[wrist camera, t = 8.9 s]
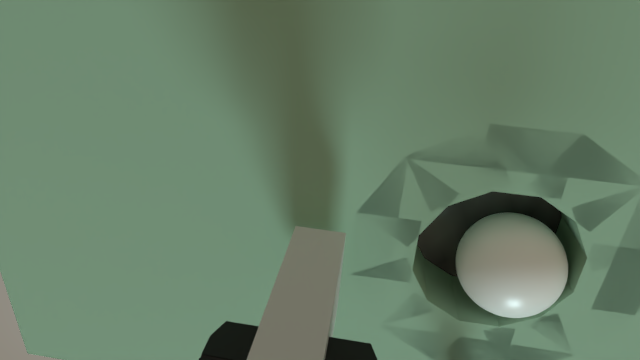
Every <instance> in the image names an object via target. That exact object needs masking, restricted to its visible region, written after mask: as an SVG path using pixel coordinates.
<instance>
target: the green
mask: <svg viewBox="0 0 640 360" xmlns="http://www.w3.org/2000/svg"><path fill="white" fill-rule="evenodd" d="M492 191H494V192H502V193H510V194H519V195H527V196H535V197H541V198H543V199H544V200H546V201H547V202H548V203H550V204H551V205H553V206H554V207H555V208H557V209H558V210H560V212H561V215H562V218H561V221H560V223H559V226H558V229H557V232H556V236H557V237H558V239H559V240H560V242H561V243H562V245H563V247H564V250H565V252H566V255H567V260H568V278H567V282H566V285H565V288H564V290H563V292H562V294H561V295H560V297H559V298H558V299H557V300H556V302H555V303H554V304H552V305H551V306H550V307H549V308H547V309H546V310H544V311H542V312H541V313H538V314H536V315H533V316H529V317H524V318H508V317H502V316H498V315H495V314H493V313H491V312H488V311H486V310H485V309H483V308H481V307H480V306H478V305H477V304H476V303H475V302H474V301H473V300H472V299H471V298H470V297H469V296H468V295H467V294H466V292H465V291H464V289H463V287H462V286H461V283H460V281H459V279H458V277H457V276H451V275H449V274H448V273H446V272H445V271H443V270H442V269H440V268H439V267H437V266H436V265H434V264H433V263H431V262H430V261H428V260H427V259H425V258H424V257H423V255H422V253H421V251H420V249H419V247H418V245H417V242H418V237H419V235H420V234H421V233H422V232H423V231H424V230H425V229H426V228H427V227H428V226H429V225H430V224H431V223H432V222H433V221H434V220H435V219H436V217H437V216H438V215H439V214H440V213H441V212H442V211H443V210H444V209H445V208H446V207H447V206H450V205H453V204H456V203H459V202H462V201H465V200H468V199H471V198H474V197H477V196H480V195H483V194H486V193H489V192H492ZM295 226H300V227H307V228H314V229H321V230H328V231H335V232H342V233H346V238H345V247H344V255H343V264H342V273H341V282H340V291H339V299H338V307H337V313H336V319H335V325H334V331H333V337H334V338H340V339H346V340H352V341H358V342H364V343H370V344H371V345H372V348H373V350H374V352H375V355H376V357H377V360H640V0H0V272H1V274H2V278H3V281H4V284H5V286H6V290H7V292H8V295H9V299H10V302H11V305H12V308H13V311H14V314H15V316H16V320H17V323H18V326H19V329H20V332H21V335H22V338H23V341H24V344H25V347H26V350H27V353H29V354H34V355H40V356H46V357H51V358H57V359H63V360H199V358H201V354H202V352H203V350H204V347H205V345H206V343H207V341H208V339H209V337H210V335H211V334H212V333H214V332H215V331H216V330H217V329H218V328H219V327H220V326H221V325H222V324H223V323H225V322H226V321H229V322H235V323H241V324H248V325H254V326H259V324H260V322H261V319H262V316H263V313H264V311H265V308H266V305H267V302H268V300H269V297H270V294H271V292H272V289H273V286H274V283H275V281H276V278H277V275H278V272H279V270H280V267H281V264H282V262H283V259H284V256H285V253H286V251H287V248H288V245H289V242H290V240H291V237H292V234H293V232H294V229H295Z"/></svg>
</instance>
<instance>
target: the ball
mask: <svg viewBox="0 0 640 360" xmlns="http://www.w3.org/2000/svg"><path fill="white" fill-rule="evenodd" d="M455 262H456V271H457V276H458V279H459V281H460V283H461V286H462V287H463V289H464V291H465V292H466V294H467V295H468V296H469V297H470V298H471V299H472V300H473V301H474V302H475V303H476V304H477V305H478V306H480V307H481V308H483V309H485V310H486V311H488V312H491V313H493V314H495V315H498V316H502V317H508V318H524V317H529V316H533V315H536V314H538V313H541V312H542V311H544V310H546V309H547V308H549V307H550V306H551V305H552V304H554V303H555V302H556V300H557V299H558V298H559V297H560V295H561V294H562V292H563V290H564V288H565V285H566V282H567V278H568V260H567V255H566V252H565V250H564V247H563V245H562V243H561V242H560V240H559V239H558V237H557V236H556V235H555V233H554V232H553V231H552V230H551V229H550V228H548V227H547V226H546V225H545V224H543V223H542V222H540V221H539V220H537V219H535V218H532V217H530V216H527V215H524V214H519V213H513V212H505V213H496V214H492V215H489V216H487V217H484V218H482V219H480V220H479V221H477V222H476V223H474V224H473V225H472V226H471V227H470V228H469V229H468V230H467V231H466V232H465V234H464V235H463V237H462V238H461V240H460V242H459V245H458V248H457V252H456V260H455Z"/></svg>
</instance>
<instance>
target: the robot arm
mask: <svg viewBox="0 0 640 360" xmlns="http://www.w3.org/2000/svg"><path fill="white" fill-rule="evenodd" d="M345 238H346V233H342V232H335V231H328V230H321V229H314V228H307V227H300V226H295V229H294V232H293V234H292V237H291V240H290V242H289V245H288V248H287V251H286V253H285V256H284V259H283V262H282V264H281V267H280V270H279V272H278V275H277V278H276V281H275V283H274V286H273V289H272V292H271V294H270V297H269V300H268V302H267V305H266V308H265V311H264V313H263V316H262V319H261V322H260V324H259V326H254V325H248V324H241V323H235V322H229V321H226V322H225V323H223V324H222V325H221V326H220V327H219V328H218V329H217V330H216V331H215V332H214V333H212V334H211V335H210V337H209V339H208V341H207V343H206V345H205V347H204V350H203V352H202V354H201V358H199V360H377V357H376V355H375V352H374V350H373V348H372V345H371V344H370V343H364V342H358V341H352V340H346V339H340V338H334V337H333V331H334V325H335V319H336V313H337V307H338V299H339V291H340V282H341V273H342V264H343V255H344V247H345Z"/></svg>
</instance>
